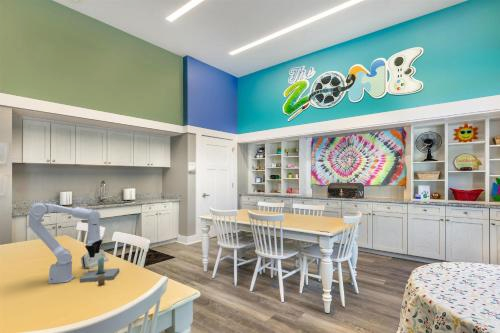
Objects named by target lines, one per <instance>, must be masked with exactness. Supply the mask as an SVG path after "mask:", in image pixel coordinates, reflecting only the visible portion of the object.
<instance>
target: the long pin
mask: <svg viewBox="0 0 500 333" xmlns="http://www.w3.org/2000/svg"><path fill="white" fill-rule="evenodd" d="M104 266H105V263H104V258H99V259H98V266H97V270H98V275H100V274H104V268H105V267H104Z"/></svg>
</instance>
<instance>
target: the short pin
mask: <svg viewBox="0 0 500 333" xmlns="http://www.w3.org/2000/svg"><path fill="white" fill-rule="evenodd" d="M105 281H106V280H105V275H100V276H98V281H97V286H98V287H102V285H103V286H104V285H105Z"/></svg>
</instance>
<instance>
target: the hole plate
mask: <svg viewBox="0 0 500 333" xmlns="http://www.w3.org/2000/svg"><path fill="white" fill-rule="evenodd" d="M119 272H120V268H118V267H117V268H105V269H104V274H100V275H105V281H112V280H114V279H115V278H116V277H117V275H118V274H119ZM100 275H98V269H95V270H94V269H92V270H87V272H85V273H84V274H83V275H82V276H81V277H80V278H79V283H80V284H81V283H82V284H83V283H91V282H98V276H100Z"/></svg>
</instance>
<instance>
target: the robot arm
mask: <svg viewBox="0 0 500 333" xmlns="http://www.w3.org/2000/svg"><path fill="white" fill-rule="evenodd" d="M29 209H30V210H29V211H28V223H27V224H28V227H29V228H30V230H31V231H33V232H34V234H36V236H37V237H38V238H39V239H40V241H42V242H43V243H44V244H45V245H46V246H47V248H49V250H50V251H51V253H52V254H53V255H54V256H55V257H56V260H57V261H56V262H55V263H53V264H51V265H50V266H49V270H48V282H47V284H50V285H51V284H58V283H60V284H62V283H69V282H70V281H71V280H73V279H74V278H75V277H76V276H75V275H73V259H72V258H73V255H72V254H71V251H70V250H69V249H67V248H65V247H64V246H63V245H62V244H61V243H60V242H59V241H58V240H57V239H56V237H54V236H53V234H52V233H51V232H50V231H49V230H48V229H47V227H45V226H44V224H43V223H42V220H43V217H44V216H45V214H46V213H47V214H49V213H53V212H54V213H55V212H56V213H60V214H61V213H62V214H68V215H71V216H72V218H77V219H82V220H88V221H87V223H88V224H87V235H88V236H87V244H85V245H84V247H85V249H86V250H87V253H89V257H90V258H92V257H94V256H95V253H99V251H100V249H101V247H102V243H103V238H102V237H101V232H100V231H101V230H100V228H101V227H100V218H101V214H100V212H99V211H98V210H95V209H92V208H89V209H88V208H83V206H76V207H75V208H73V207H67V206H63V205H58V204H54V203H43V202H35V203H33V204H32V205H31V207H30V208H29Z"/></svg>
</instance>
